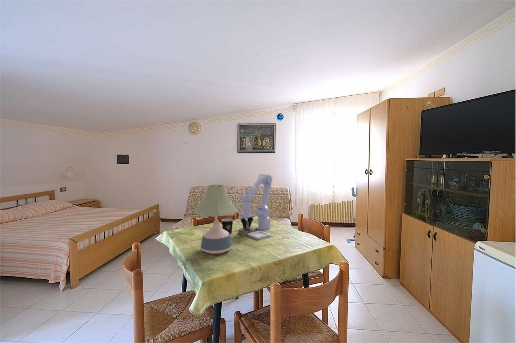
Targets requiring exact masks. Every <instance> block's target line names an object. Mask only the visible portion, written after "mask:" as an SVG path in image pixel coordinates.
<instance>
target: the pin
mask: <svg viewBox="0 0 516 343" xmlns="http://www.w3.org/2000/svg"><path fill="white" fill-rule="evenodd" d="M245 230H246V231H247V230H249V221H248V220H247V221H246V228H245Z"/></svg>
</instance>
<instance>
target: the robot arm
mask: <svg viewBox="0 0 516 343" xmlns="http://www.w3.org/2000/svg"><path fill="white" fill-rule="evenodd" d="M272 181H273V176H272V175H271V174H270V173H269V174H264V173H260V174H259V175H258V176H257V179H256V181H255V183H254V184H253V185H252V186H250V187H249V189H247V191H246V192H245V193H243V195H241V198H240V199H241V201H242V215H240V216H237V219H238V220H240V221H241V224H242V228H246V221H249V227H250V228H251V226H252V223H253V221H254V218H256V216H257V227H255V228H256V229H258V230H259V231H264V230H268V229H271V220H270V217H269V216H270V208H269V207H268V202H269V198H270V197H269V196H270V191H271V188H272ZM261 185H263V190H262V196H261V202H260V205H259V206H257V209H256V211H255V213H252V214H251V212H252V208H251V207H252V206H251V205H252V204H251V202H252V201H253V198H254V195H255V194H256V193H257V191H258V188H259V187H260V186H261Z"/></svg>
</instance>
